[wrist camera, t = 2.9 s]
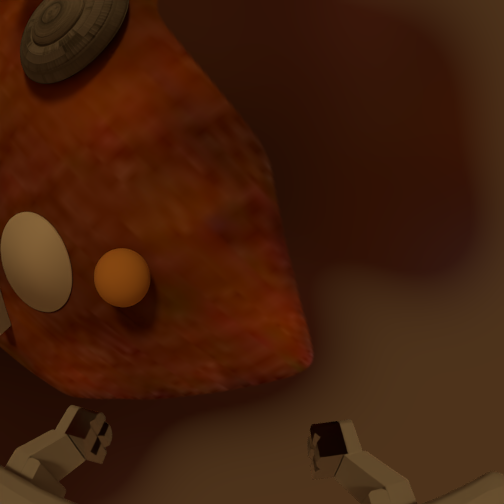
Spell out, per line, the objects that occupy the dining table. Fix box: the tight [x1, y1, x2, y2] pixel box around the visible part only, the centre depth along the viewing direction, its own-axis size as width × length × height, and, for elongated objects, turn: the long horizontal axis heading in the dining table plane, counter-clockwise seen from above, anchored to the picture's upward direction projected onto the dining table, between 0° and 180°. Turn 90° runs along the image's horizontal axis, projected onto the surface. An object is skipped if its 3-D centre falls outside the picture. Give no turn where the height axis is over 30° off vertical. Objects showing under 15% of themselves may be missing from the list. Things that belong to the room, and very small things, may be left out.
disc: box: [1, 212, 72, 312], centre depth 28 cm, size 13×13×1 cm
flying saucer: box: [20, 0, 129, 84], centre depth 18 cm, size 15×15×6 cm
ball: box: [94, 248, 150, 307], centre depth 26 cm, size 6×6×6 cm
